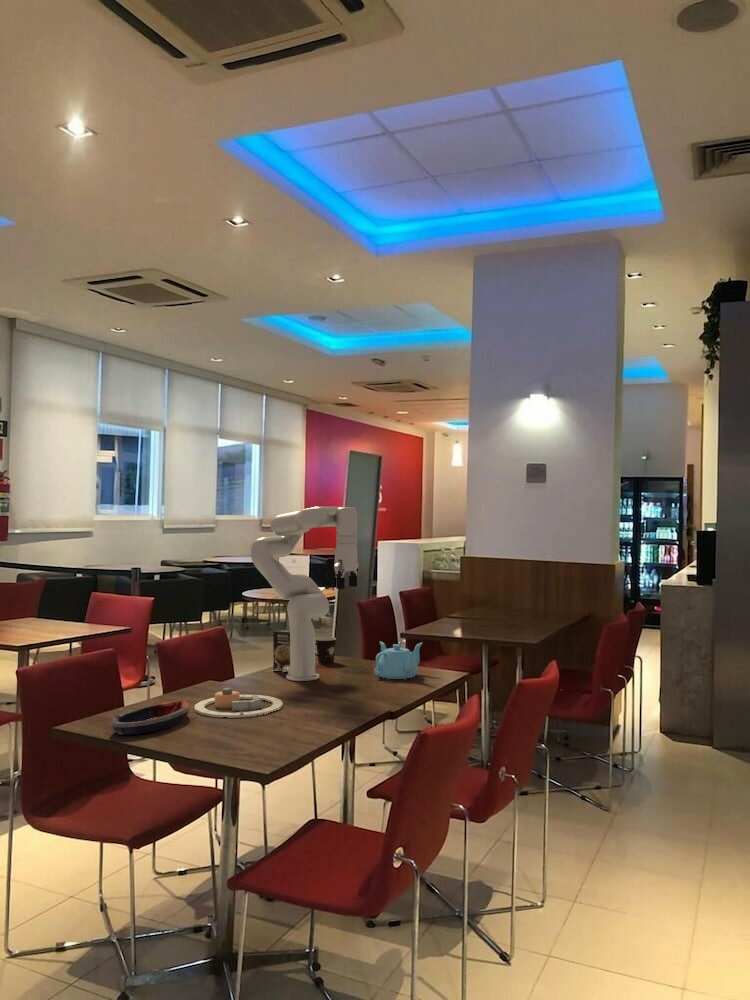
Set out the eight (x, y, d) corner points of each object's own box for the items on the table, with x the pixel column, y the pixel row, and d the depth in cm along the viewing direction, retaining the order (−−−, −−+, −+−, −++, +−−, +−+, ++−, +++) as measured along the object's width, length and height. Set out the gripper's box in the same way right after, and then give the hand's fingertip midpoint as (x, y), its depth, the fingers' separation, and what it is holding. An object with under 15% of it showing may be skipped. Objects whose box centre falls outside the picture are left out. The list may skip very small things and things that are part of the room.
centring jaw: (229, 711, 260) (229, 702, 260) (253, 703, 270) (253, 694, 270) (244, 713, 256) (244, 704, 257) (268, 706, 267) (268, 696, 267)
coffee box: (272, 672, 324) (272, 631, 325) (280, 669, 330) (279, 629, 331) (293, 673, 321) (293, 632, 321) (300, 670, 327) (300, 630, 327)
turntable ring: (176, 710, 261) (176, 707, 261) (235, 693, 285) (235, 690, 285) (243, 721, 246) (243, 718, 246) (299, 703, 270) (299, 699, 270)
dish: (95, 735, 234) (95, 717, 234) (169, 711, 261) (169, 696, 261) (136, 742, 226) (136, 723, 226) (207, 717, 254) (207, 701, 254)
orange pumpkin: (209, 706, 267) (209, 689, 267) (226, 701, 274) (226, 685, 274) (228, 709, 263) (228, 692, 263) (244, 704, 269) (244, 688, 269)
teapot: (422, 672, 322) (422, 641, 322) (417, 682, 303) (417, 649, 304) (380, 671, 325) (379, 640, 325) (371, 680, 306) (371, 648, 307)
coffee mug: (333, 660, 349) (333, 636, 349) (338, 663, 341) (338, 639, 341) (306, 662, 346) (306, 638, 346) (311, 665, 337) (311, 641, 338)
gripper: (348, 539, 308) (348, 585, 308) (326, 541, 292) (326, 589, 292) (366, 540, 305) (366, 586, 304) (344, 541, 289) (344, 590, 289)
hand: (346, 587), depth 298 cm, fingers open, 9 cm apart
